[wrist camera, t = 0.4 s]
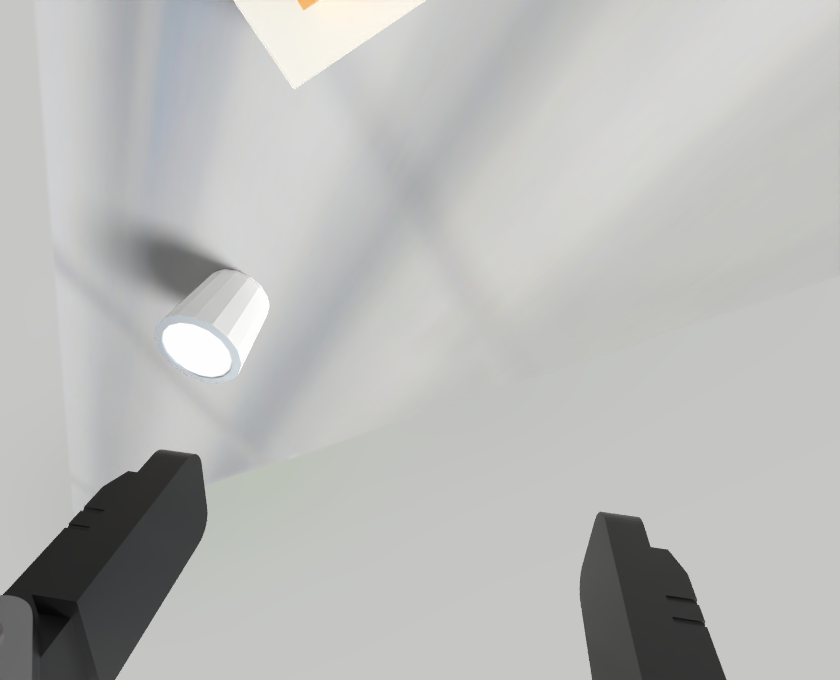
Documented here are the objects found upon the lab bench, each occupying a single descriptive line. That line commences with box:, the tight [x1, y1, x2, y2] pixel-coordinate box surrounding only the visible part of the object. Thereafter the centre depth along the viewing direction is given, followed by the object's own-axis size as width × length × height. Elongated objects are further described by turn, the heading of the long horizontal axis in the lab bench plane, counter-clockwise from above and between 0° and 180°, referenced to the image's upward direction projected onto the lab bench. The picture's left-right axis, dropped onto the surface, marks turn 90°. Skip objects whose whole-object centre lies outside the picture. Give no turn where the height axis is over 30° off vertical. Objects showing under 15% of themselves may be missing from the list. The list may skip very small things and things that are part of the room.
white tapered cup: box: [155, 269, 270, 383], centre depth 46 cm, size 7×7×7 cm
